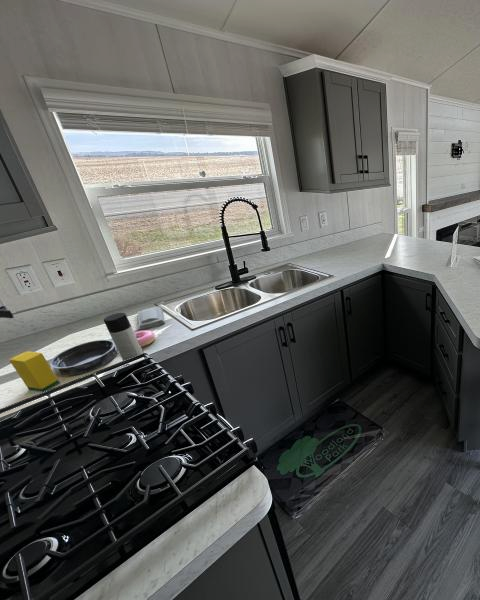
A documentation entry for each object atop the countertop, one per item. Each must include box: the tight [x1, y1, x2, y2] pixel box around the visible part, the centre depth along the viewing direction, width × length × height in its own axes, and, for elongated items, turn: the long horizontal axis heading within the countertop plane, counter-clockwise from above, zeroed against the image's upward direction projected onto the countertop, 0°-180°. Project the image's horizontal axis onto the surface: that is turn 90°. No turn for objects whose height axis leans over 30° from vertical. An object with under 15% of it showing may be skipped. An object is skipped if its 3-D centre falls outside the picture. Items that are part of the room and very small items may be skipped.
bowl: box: [49, 339, 119, 377], centre depth 128 cm, size 19×19×4 cm
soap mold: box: [137, 305, 166, 331], centre depth 160 cm, size 10×20×4 cm, turn 37°
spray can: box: [103, 312, 144, 362], centre depth 124 cm, size 7×7×20 cm
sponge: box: [8, 350, 61, 393], centre depth 113 cm, size 7×5×13 cm
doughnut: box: [134, 329, 156, 348], centre depth 139 cm, size 11×11×4 cm
